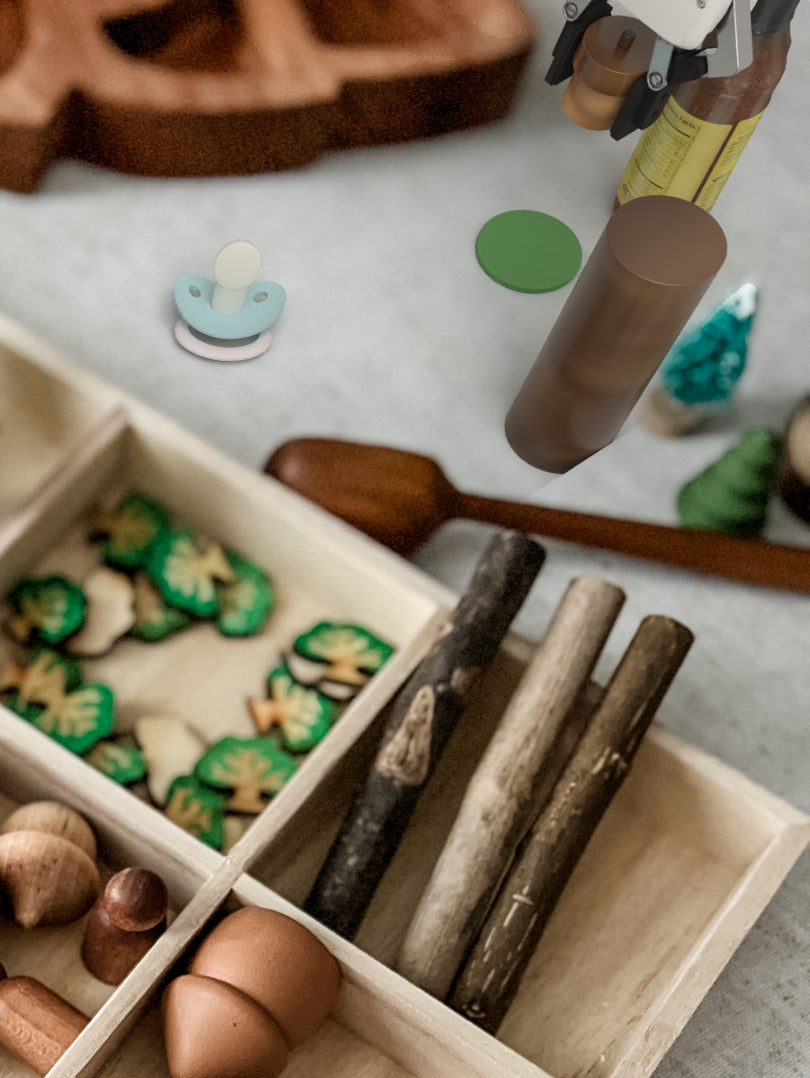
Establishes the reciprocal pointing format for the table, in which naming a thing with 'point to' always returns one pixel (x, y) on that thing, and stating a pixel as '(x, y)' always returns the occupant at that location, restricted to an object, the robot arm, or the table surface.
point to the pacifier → (228, 304)
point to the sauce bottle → (710, 119)
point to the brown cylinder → (615, 330)
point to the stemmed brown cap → (607, 70)
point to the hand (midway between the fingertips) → (598, 98)
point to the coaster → (528, 251)
